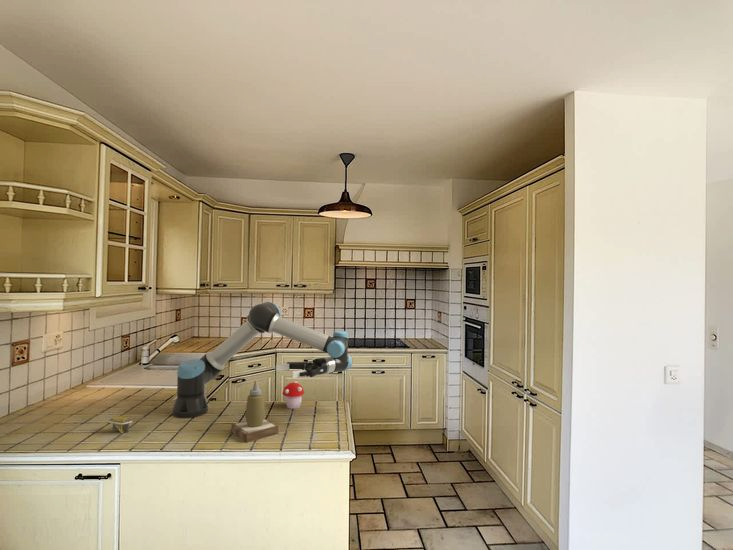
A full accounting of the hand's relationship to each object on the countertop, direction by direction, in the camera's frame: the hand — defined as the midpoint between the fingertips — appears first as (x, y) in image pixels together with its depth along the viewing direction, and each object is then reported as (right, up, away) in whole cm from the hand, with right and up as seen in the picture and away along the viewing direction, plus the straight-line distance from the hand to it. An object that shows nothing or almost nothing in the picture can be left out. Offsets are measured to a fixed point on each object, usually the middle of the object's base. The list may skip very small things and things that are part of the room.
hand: (283, 371), depth 179 cm
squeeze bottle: (-10, -20, -9) cm, 24 cm away
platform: (-65, -22, -12) cm, 70 cm away
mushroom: (0, -23, +24) cm, 34 cm away
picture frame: (-10, -23, -9) cm, 27 cm away
